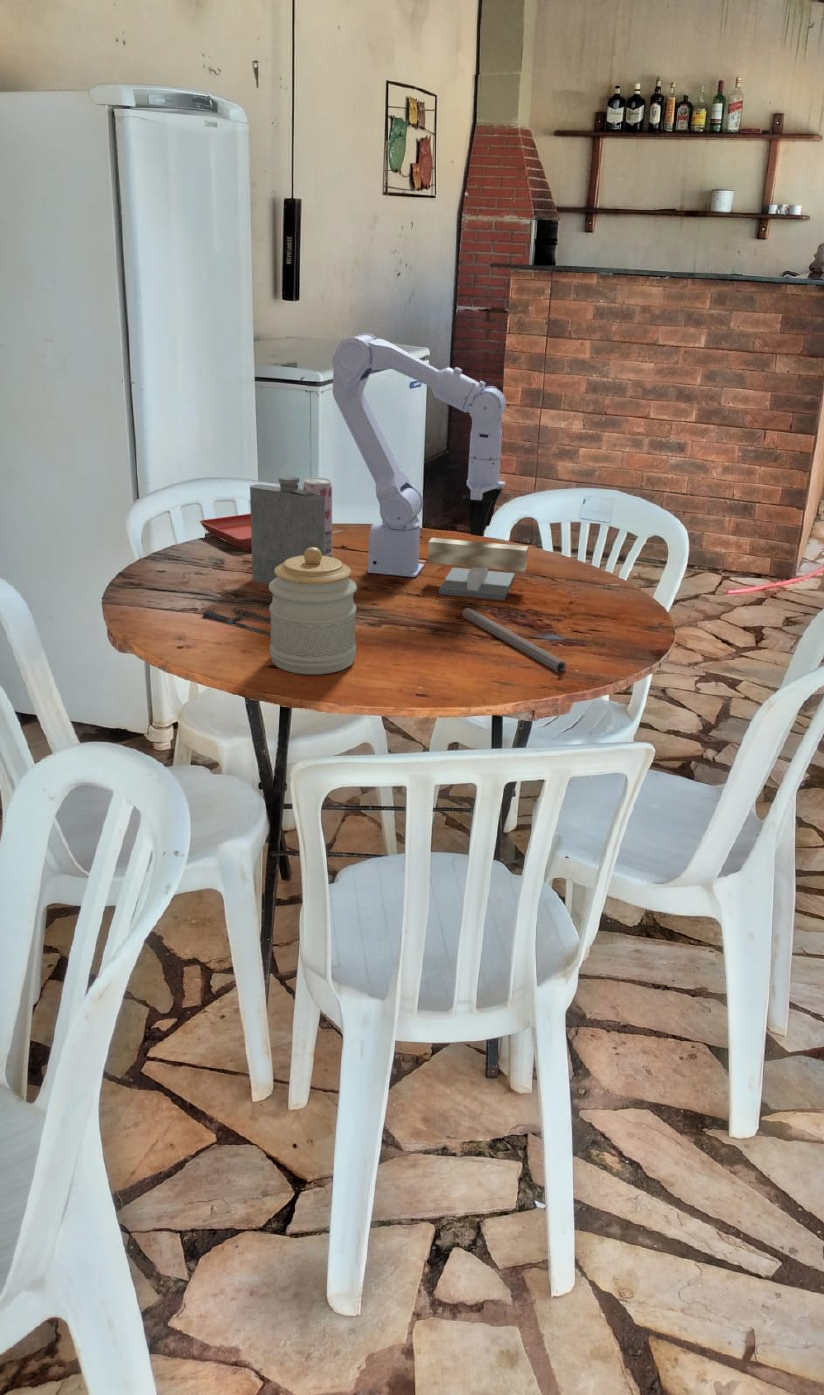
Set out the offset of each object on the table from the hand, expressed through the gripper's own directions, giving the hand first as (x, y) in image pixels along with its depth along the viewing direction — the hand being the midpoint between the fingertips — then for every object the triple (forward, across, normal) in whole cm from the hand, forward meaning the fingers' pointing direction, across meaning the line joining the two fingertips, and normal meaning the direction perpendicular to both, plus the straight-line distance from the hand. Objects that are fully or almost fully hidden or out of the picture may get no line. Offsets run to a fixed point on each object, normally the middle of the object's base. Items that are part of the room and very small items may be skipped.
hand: (480, 530), depth 204 cm
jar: (+10, -50, +16) cm, 53 cm away
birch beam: (+5, -5, -1) cm, 7 cm away
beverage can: (+10, +5, +33) cm, 35 cm away
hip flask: (+10, -16, +32) cm, 37 cm away
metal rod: (+10, -33, -11) cm, 36 cm away
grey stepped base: (+9, -5, -1) cm, 11 cm away
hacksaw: (+10, -36, +28) cm, 47 cm away
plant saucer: (+10, +13, +50) cm, 52 cm away
